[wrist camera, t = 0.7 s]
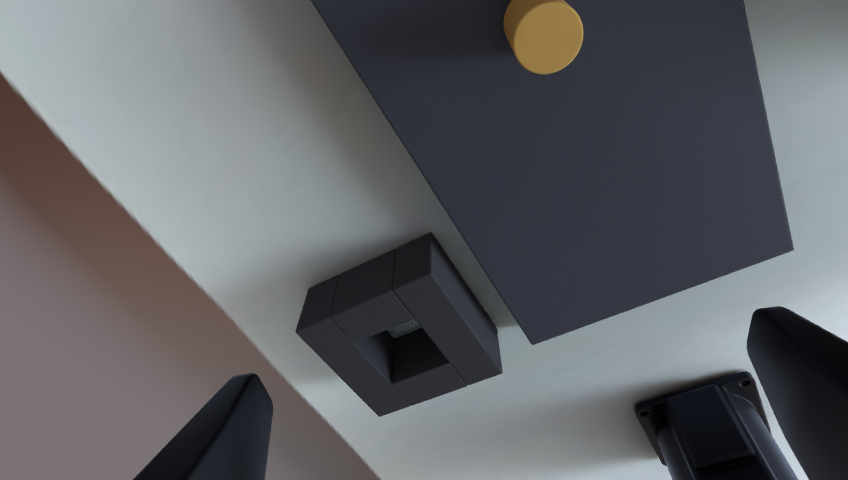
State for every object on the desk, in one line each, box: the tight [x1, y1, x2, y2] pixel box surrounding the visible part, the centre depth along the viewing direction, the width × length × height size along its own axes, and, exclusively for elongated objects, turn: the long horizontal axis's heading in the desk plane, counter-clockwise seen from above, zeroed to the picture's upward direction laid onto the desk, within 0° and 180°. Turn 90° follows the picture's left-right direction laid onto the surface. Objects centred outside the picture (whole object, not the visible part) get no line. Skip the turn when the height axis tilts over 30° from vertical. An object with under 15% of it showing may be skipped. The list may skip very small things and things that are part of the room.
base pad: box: [311, 0, 794, 345], centre depth 18 cm, size 20×12×4 cm, turn 30°
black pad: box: [296, 233, 502, 417], centre depth 25 cm, size 7×7×3 cm
